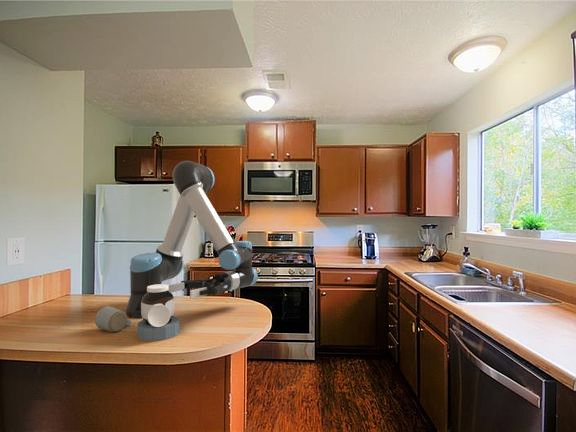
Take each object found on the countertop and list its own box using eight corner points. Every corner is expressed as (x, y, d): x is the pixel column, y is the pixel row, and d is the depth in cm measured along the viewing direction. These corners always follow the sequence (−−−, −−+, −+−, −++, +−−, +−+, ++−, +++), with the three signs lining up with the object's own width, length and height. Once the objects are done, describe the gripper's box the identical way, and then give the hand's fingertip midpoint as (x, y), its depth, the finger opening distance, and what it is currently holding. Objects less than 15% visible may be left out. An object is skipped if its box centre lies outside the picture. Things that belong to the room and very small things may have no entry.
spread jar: (163, 314, 118) (162, 282, 118) (185, 320, 113) (184, 285, 113) (132, 324, 108) (131, 288, 108) (154, 331, 102) (154, 293, 102)
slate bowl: (130, 334, 110) (130, 322, 110) (165, 324, 120) (165, 313, 120) (151, 344, 102) (151, 331, 102) (187, 332, 112) (187, 320, 112)
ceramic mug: (109, 335, 110) (109, 312, 110) (94, 331, 113) (94, 308, 113) (137, 326, 119) (137, 305, 119) (122, 323, 123) (122, 302, 123)
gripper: (247, 295, 126) (201, 308, 109) (206, 286, 141) (159, 296, 125) (247, 276, 126) (200, 285, 109) (206, 269, 141) (159, 277, 125)
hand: (178, 291), depth 117 cm, fingers open, 13 cm apart
